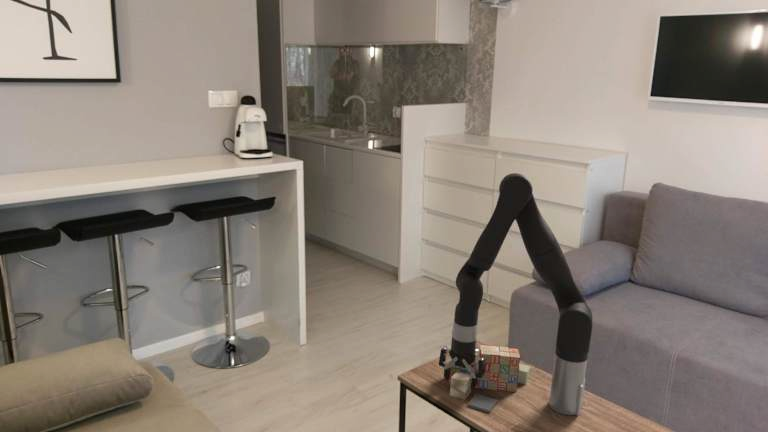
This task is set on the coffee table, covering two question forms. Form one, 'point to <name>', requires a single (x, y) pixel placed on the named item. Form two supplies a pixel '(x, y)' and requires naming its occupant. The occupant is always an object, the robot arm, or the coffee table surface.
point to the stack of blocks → (495, 368)
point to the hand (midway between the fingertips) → (459, 383)
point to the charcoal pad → (482, 403)
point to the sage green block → (524, 374)
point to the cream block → (460, 385)
